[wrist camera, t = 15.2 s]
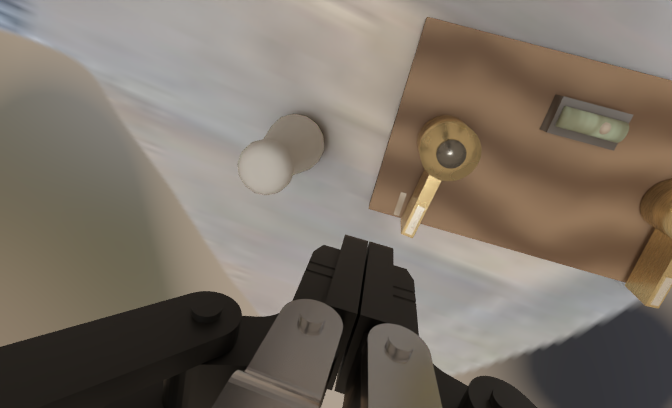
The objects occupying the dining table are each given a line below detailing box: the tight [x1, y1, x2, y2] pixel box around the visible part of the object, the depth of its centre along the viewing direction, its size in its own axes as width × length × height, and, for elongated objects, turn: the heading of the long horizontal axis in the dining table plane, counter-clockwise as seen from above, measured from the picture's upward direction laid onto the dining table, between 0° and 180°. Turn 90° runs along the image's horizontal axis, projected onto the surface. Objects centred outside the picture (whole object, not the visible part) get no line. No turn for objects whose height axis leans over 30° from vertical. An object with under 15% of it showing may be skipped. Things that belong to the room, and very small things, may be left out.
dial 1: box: [401, 115, 482, 238], centre depth 35 cm, size 12×5×6 cm, turn 160°
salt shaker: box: [238, 114, 324, 195], centre depth 34 cm, size 6×6×13 cm
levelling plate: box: [369, 17, 672, 282], centre depth 35 cm, size 19×29×5 cm, turn 76°
